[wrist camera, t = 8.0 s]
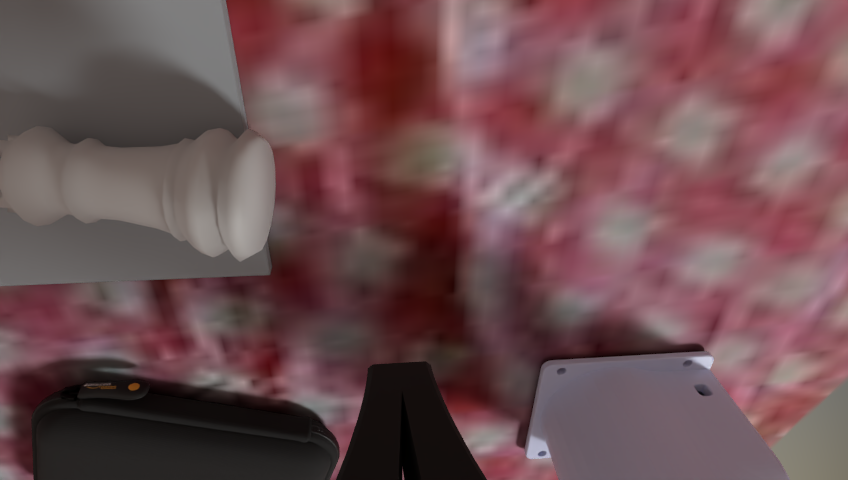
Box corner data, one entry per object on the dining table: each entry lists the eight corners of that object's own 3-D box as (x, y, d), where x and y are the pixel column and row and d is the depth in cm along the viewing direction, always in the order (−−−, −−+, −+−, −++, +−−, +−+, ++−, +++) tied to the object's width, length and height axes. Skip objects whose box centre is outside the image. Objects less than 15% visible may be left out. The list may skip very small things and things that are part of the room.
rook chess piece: (283, 178, 20) (73, 158, 19) (263, 100, 16) (-2, 72, 15) (261, 283, 18) (26, 264, 17) (231, 223, 14) (-74, 195, 13)
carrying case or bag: (355, 397, 27) (50, 345, 24) (353, 445, 25) (11, 397, 21) (308, 506, 32) (51, 479, 29) (303, 557, 30) (19, 534, 26)
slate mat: (222, -15, 16) (218, -13, 16) (272, 266, 22) (269, 275, 21) (-271, -21, 15) (-293, -19, 14) (-78, 280, 21) (-89, 289, 20)
